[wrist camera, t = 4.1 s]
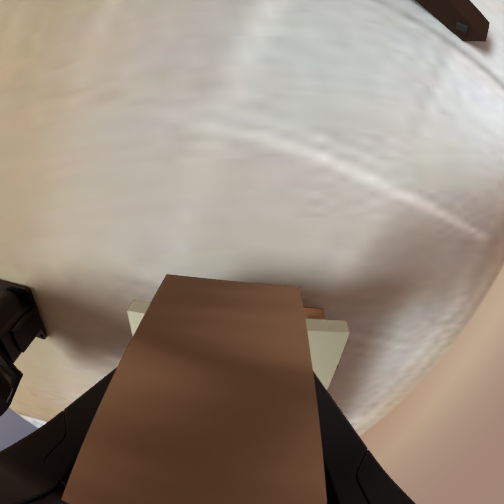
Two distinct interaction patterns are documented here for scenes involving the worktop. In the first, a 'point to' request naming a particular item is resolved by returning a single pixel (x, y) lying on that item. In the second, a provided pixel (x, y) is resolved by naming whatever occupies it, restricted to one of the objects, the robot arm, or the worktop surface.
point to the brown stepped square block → (208, 404)
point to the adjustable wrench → (459, 18)
